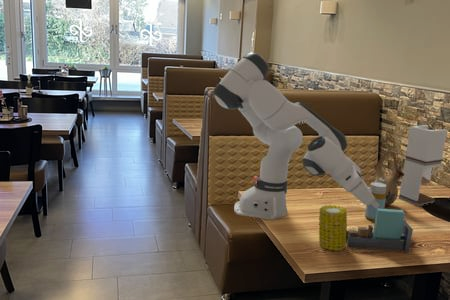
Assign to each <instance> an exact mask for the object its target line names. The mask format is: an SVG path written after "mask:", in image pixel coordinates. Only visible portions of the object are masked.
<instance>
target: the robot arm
mask: <svg viewBox="0 0 450 300" xmlns="http://www.w3.org/2000/svg"><path fill="white" fill-rule="evenodd" d="M269 71H270V68H269V64H268V62H267V61H266V60H265V58H263V56H261V55H259V54H258V53H256V52H248V53H246V54H245V55H244V56H242V59H240V60H239V61H238V62H236V64H234V65H233V66H232V67H230V69H229V70H228V72H226V73H225V75H224V76H223V77H222V79H220V81H219V83H217V84H216V86H215V87H214V89H213V91H212V95H213V96H214V98H215V101H216V102H217V103H218V105H219V106H221V107H222V108H225V109H227V110H231V111H233V110H237V109H238V111H239V112H240V113H241V115H242V116H243V117H244V118H245V119H246V121H247V122H249V124H250V126H251V127H252V132H253V136H255V138H256V139H257V140H259V141H260V142H261V143H263V144H265V145H268V151H267V154H266V155H265V156H264V157H263V158H262V159H261V161H260V171H259V176H257V175H254V177H253V181H254V183H253V184H254V185H253V186H252V187H250V188H248V189H247V190H245V191H243V192H242V194H241V195H240V198H239V200H238V201H237V202H235V203H234V207H233V211H234V213H235V214H236V215H238V216H244V217H251V218H256V219H257V218H258V219H262V220H263V219H265V220H270V221H273V220H276V219H278V218H282V217H284V216H286V215H287V214H288V207H287V199H286V197H287V195H286V194H287V191H288V179H287V178H288V168H289V163H290V160H291V157H292V155H293V153H294V152H295V151H297V150H298V149H299V148H300V147H301V145H302V143H303V140H304V139H303V138H304V137H303V132H302V131H301V129H300V128H299V127H298V126H296V125H298V124H299V123H302V122H304V123H305V124H306V125H308V126H309V127H310V128H312V129H313V131H316V132H317V133H318V136H317V137H315V138H314V139H312V140H311V141H310V142H309V144H308V146H307V149H306V150H307V152H306V153H305V154H304V156H303V157H302V166H303V168H304V169H305V170H306V171H307V172H308V173H309V174H310V175H312V176H315V177H318V176H324V175H326V174H327V173H328V174H329V175H330V177H331V178H332V179H333V180H334V181H335V182H336V183H337V184H338V185H339V186H340V187H342V188H343V189H344V190H345V192H347V193H351V195H353V197H355V198H357V200H359V202H361V203H362V204H363V205H365V206H366V205H367V206H368V205H370V204H371V205H373V206H374V207H375V208H378V207H379V206H380V205H379V203H378V202H377V201H376V200H375V197H374V196H373V194H372V192H371V191H370V187H369V186H368V185H367V183H366V181H365V180H364V178H363V177H362V173H361V171H362V170H361V168H360V167H359V166H358V165H357V164H356V163H355V162H354V161H353V160H352V159H351V158H350V157H348V156H347V155H345V153H344V152H345V150H346V149H347V146H348V142H347V137H346V135H345V134H344V133H343V132H341V131H340V130H338V128H336V127H334V126H332V125H331V124H330V123H328V122H327V120H325V119H323V117H321V116H320V115H318V113H316V112H315V111H314V110H313V109H311V108H310V107H309V106H307V105H305V104H304V103H301V102H299V101H298V102H291V101H290V100H288V99H287V97H286V96H285V95H284V94H282V92H281V91H280V90H279V89H278V88H277V87H275V86H274V85H273V84H271V83H270V82H269V80H266V78H267V75H268V73H269Z"/></svg>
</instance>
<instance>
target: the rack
mask: <svg viewBox="0 0 450 300" xmlns="http://www.w3.org/2000/svg"><path fill="white" fill-rule="evenodd" d="M357 232H358V230H357ZM413 233H414V230H413V228H412V226H410V225H409V223H408V222H407V220H406V221H405V220H403V226H402V232H401V238H400V239H387V238H373V232H372V237H360V236H348V230H347V232H346V247H347V248H353V249H367V250H380V251H391V252H393V251H394V252H395V251H396V252H403V254H410V249H411V243H412V237H413ZM347 237H348V240H347Z"/></svg>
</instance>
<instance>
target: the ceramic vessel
mask: <svg viewBox="0 0 450 300" xmlns="http://www.w3.org/2000/svg"><path fill="white" fill-rule="evenodd" d="M389 154H390V155H392V159H393V172H392V175H391V177H387V176H386V175H385V174H384V172H383V165H384V162H385V159H386V157H387V156H388V155H389ZM372 167H373V169H374V172H375V180H374V182H380V183H384V184H386V192H385V194H386V200H385V207H388V206H390V205H392V204H394V203H395V202H396V200H397V199H398V196H399V191H398V190H399V187H398V181H399V180H400V179H402V177H403V176H404V173H403V171H401V170H400V169H399V167H398V161H397V156H396V154H395V153H394V152H393V151H392V150H388V151H385V153H384V154H383V156H382V157H381V159H379V161H377V162H376V163H375V164H373V165H372Z"/></svg>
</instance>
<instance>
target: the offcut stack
mask: <svg viewBox="0 0 450 300" xmlns="http://www.w3.org/2000/svg"><path fill="white" fill-rule="evenodd" d="M347 231H348V236H360V237H372V232H373V231H374V225H372V224H368V227H367V226H358V227H357V230H355V229H348V230H347ZM357 231H358V232H357ZM347 240H348V237H347Z"/></svg>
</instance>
